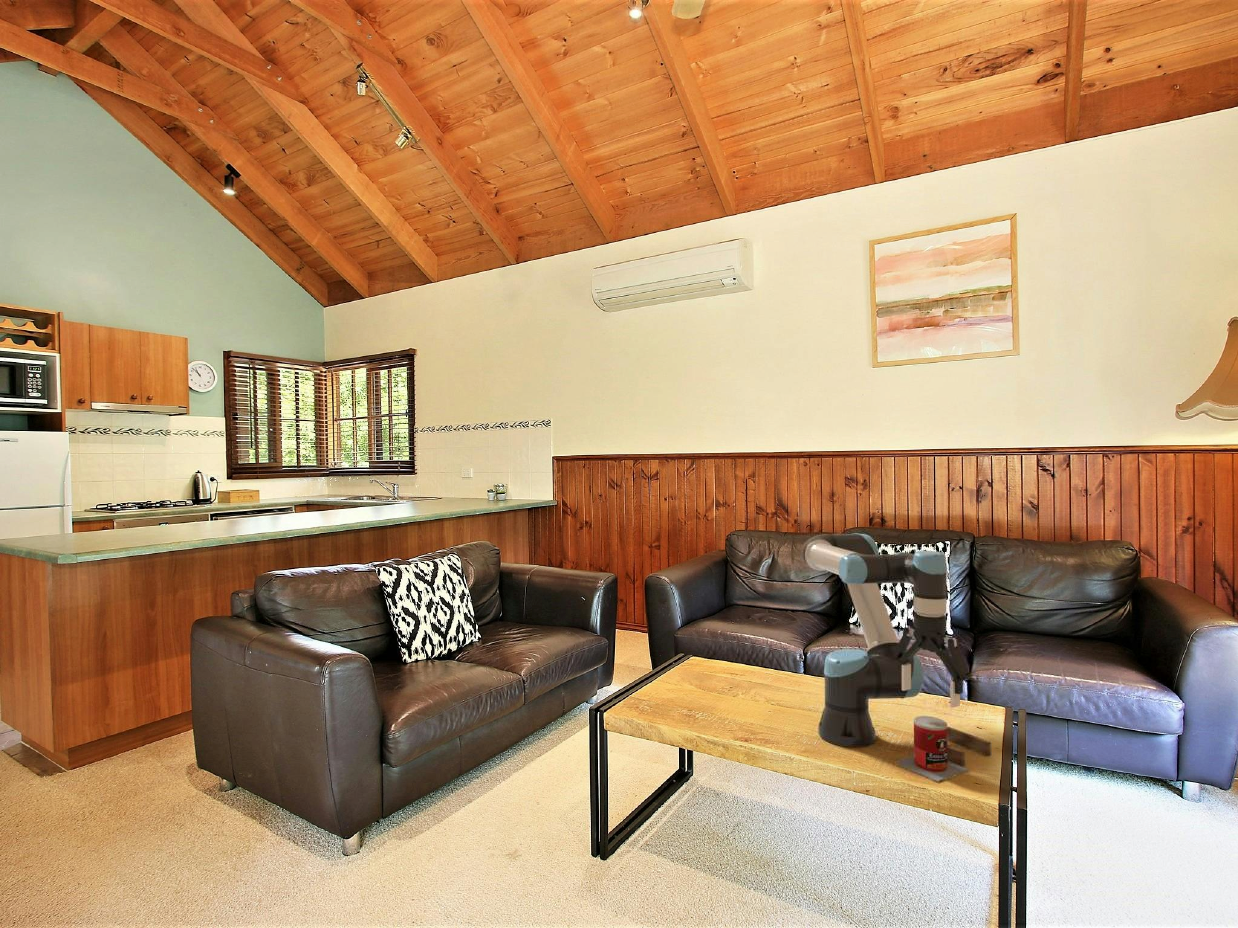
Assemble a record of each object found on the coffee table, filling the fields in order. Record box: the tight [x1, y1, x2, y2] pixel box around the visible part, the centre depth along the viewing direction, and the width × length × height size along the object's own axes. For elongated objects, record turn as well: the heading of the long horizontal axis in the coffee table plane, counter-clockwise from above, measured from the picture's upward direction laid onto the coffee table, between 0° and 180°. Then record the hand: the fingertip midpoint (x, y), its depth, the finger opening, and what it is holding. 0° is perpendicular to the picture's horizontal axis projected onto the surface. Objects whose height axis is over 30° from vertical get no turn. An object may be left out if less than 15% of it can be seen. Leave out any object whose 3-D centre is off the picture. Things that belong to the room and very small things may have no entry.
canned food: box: [913, 715, 949, 772], centre depth 170 cm, size 8×8×11 cm
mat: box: [894, 754, 969, 783], centre depth 170 cm, size 12×12×1 cm
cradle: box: [947, 726, 992, 767], centre depth 178 cm, size 12×12×4 cm
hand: (929, 697), depth 170 cm, fingers open, 13 cm apart
